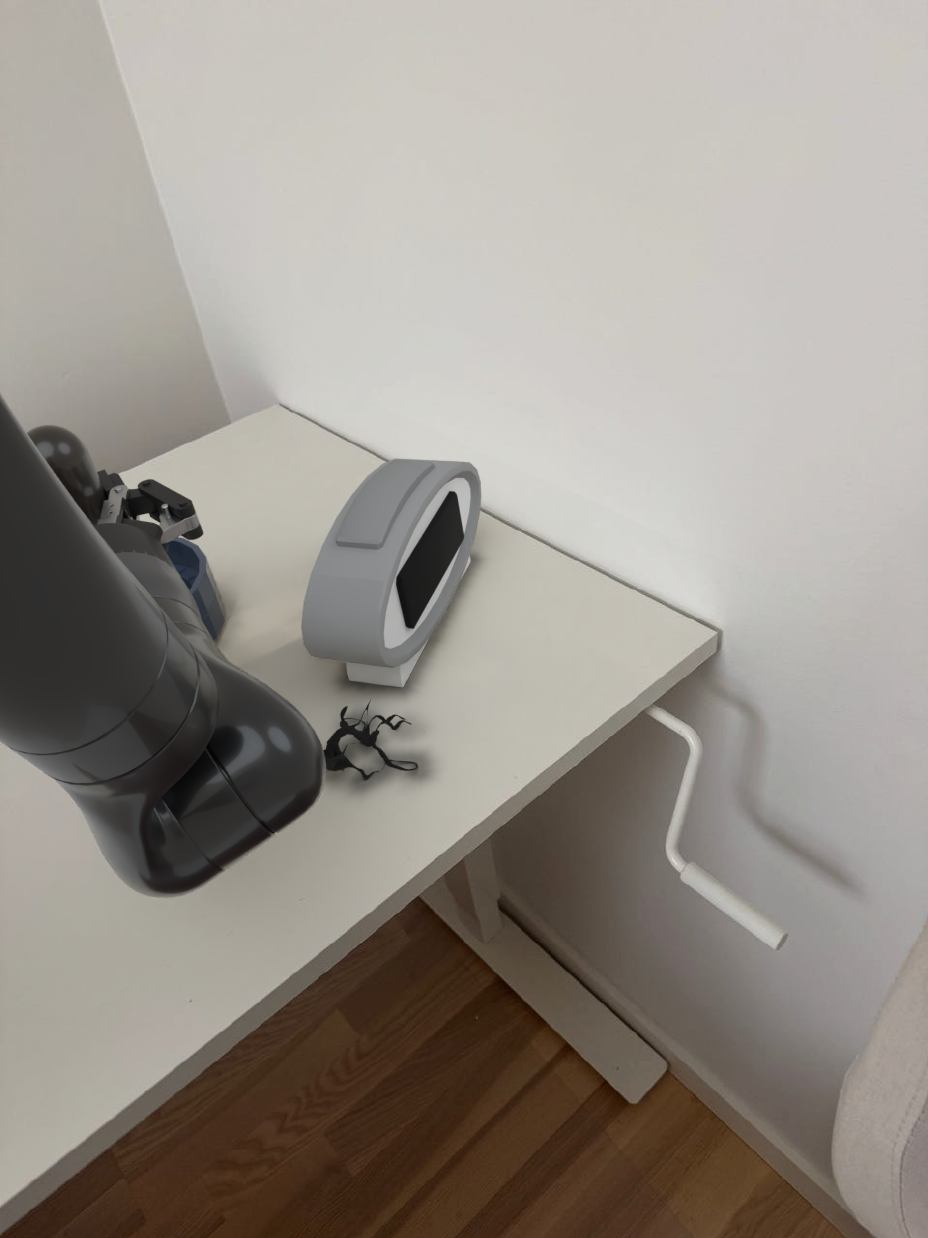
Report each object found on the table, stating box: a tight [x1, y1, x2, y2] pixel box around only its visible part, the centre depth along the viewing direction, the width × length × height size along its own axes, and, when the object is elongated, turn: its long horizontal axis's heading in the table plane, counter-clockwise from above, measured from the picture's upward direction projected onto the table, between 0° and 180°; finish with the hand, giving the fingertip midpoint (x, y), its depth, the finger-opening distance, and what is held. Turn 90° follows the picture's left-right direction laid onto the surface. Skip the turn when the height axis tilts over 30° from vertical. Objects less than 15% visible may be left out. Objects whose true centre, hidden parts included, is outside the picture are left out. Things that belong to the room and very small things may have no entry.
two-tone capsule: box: [26, 424, 108, 522], centre depth 66 cm, size 5×5×13 cm
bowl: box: [167, 536, 226, 642], centre depth 82 cm, size 14×14×6 cm
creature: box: [323, 697, 419, 781], centre depth 67 cm, size 8×5×8 cm
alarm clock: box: [300, 458, 482, 688], centre depth 76 cm, size 23×6×13 cm, turn 161°
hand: (68, 496), depth 68 cm, fingers closed on two-tone capsule, 4 cm apart
